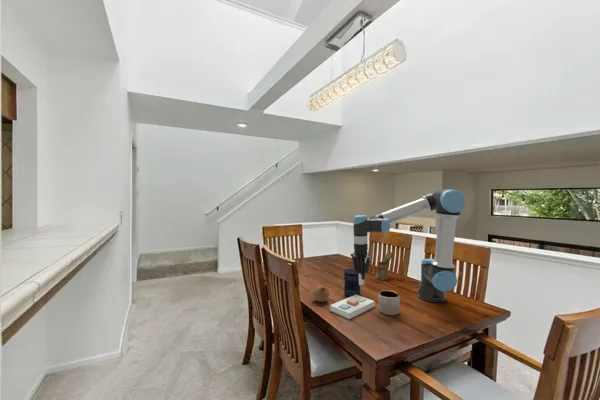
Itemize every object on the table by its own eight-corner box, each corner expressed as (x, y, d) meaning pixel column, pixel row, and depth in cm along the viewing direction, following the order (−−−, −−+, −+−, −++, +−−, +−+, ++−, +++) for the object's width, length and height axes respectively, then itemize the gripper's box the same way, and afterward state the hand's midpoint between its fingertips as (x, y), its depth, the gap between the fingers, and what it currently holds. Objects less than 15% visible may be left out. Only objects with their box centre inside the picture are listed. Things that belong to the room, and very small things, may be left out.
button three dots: (358, 306, 154) (358, 300, 154) (353, 308, 151) (353, 302, 151) (352, 303, 158) (352, 297, 157) (346, 306, 155) (346, 300, 154)
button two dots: (366, 304, 159) (366, 298, 159) (361, 306, 156) (361, 300, 156) (359, 302, 162) (359, 296, 162) (354, 304, 159) (354, 298, 159)
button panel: (374, 306, 157) (374, 301, 157) (349, 319, 142) (349, 313, 142) (355, 299, 167) (355, 294, 166) (330, 310, 152) (330, 305, 152)
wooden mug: (395, 277, 204) (395, 253, 203) (381, 280, 198) (381, 255, 197) (386, 274, 212) (386, 250, 211) (372, 277, 206) (373, 252, 205)
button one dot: (350, 312, 150) (350, 305, 149) (345, 314, 147) (345, 308, 146) (343, 309, 153) (343, 303, 153) (338, 311, 150) (338, 305, 150)
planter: (396, 318, 143) (397, 299, 143) (375, 313, 149) (375, 295, 148) (401, 309, 152) (401, 292, 152) (381, 305, 158) (381, 288, 158)
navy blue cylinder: (340, 295, 173) (340, 271, 172) (349, 290, 180) (349, 267, 179) (354, 299, 166) (354, 274, 165) (363, 294, 173) (363, 271, 172)
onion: (324, 308, 162) (327, 296, 157) (309, 302, 165) (312, 289, 160) (329, 296, 170) (332, 284, 165) (314, 291, 173) (317, 279, 168)
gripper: (374, 243, 155) (375, 285, 156) (355, 240, 164) (356, 280, 166) (366, 245, 150) (367, 289, 151) (347, 242, 160) (348, 283, 161)
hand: (361, 284), depth 158 cm, fingers closed
